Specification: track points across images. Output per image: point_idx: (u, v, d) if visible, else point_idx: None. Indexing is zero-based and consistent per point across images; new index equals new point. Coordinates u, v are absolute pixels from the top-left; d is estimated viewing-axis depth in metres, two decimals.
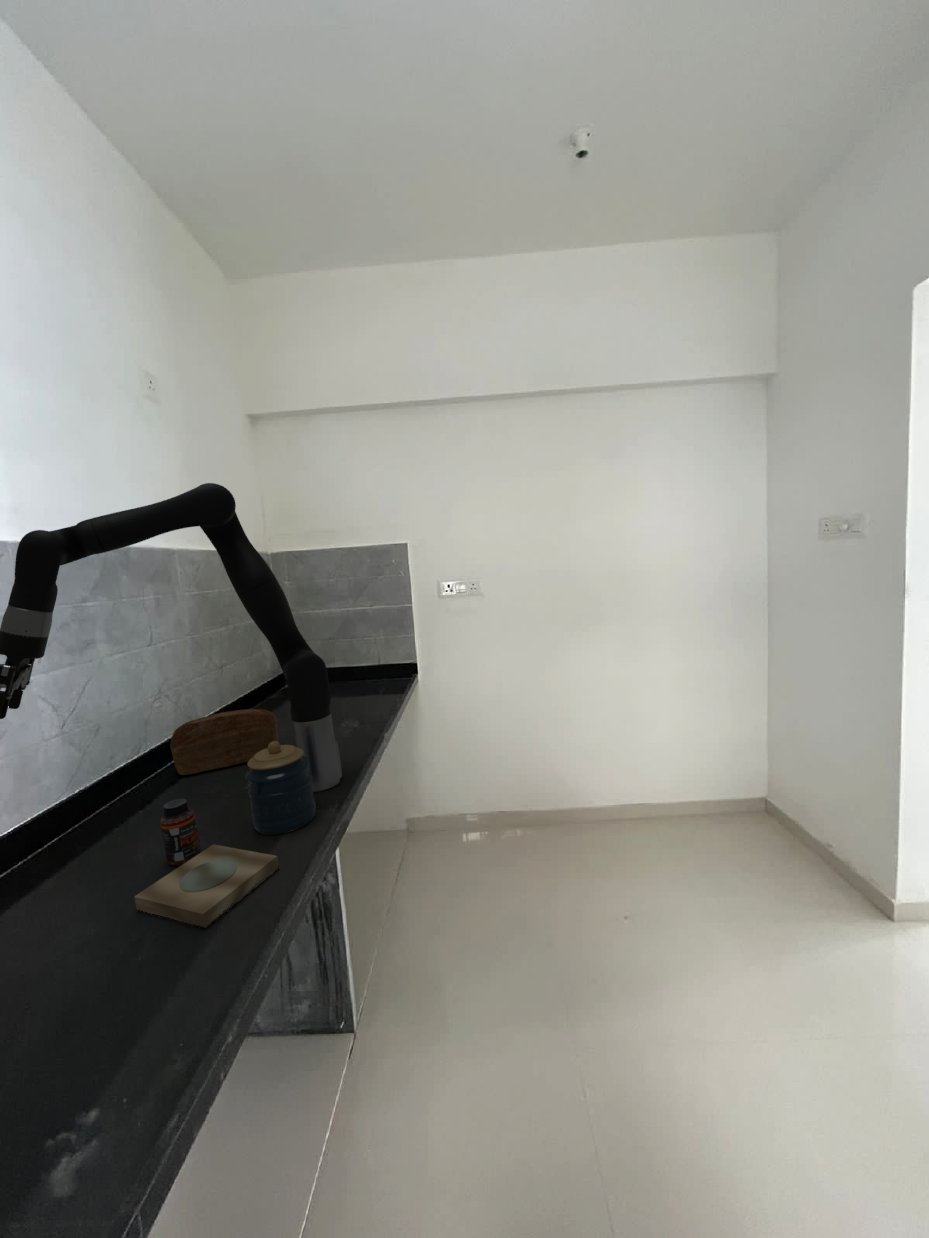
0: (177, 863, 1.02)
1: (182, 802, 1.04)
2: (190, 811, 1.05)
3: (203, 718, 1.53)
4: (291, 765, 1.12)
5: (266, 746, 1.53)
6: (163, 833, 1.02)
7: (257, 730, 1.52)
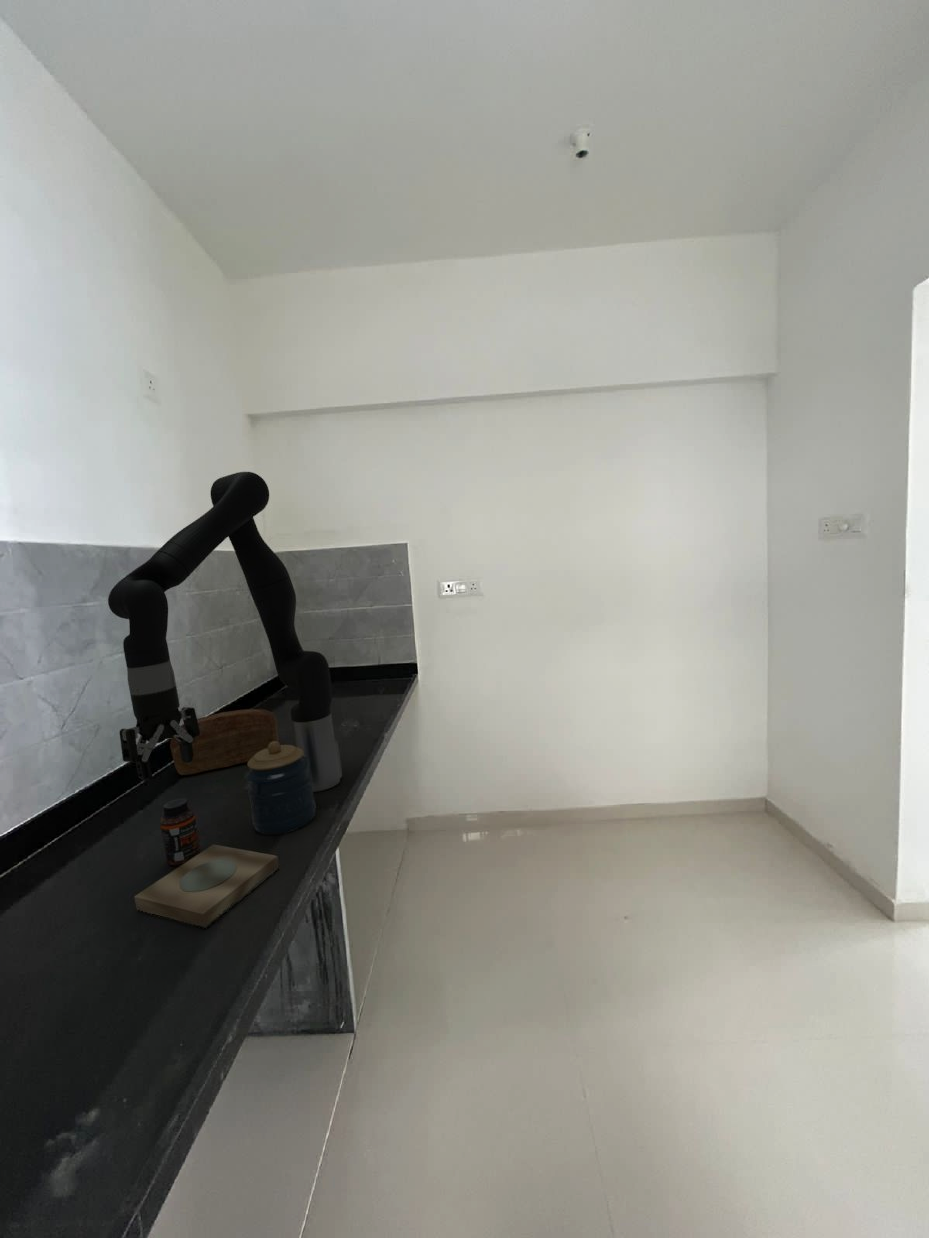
0: (177, 863, 1.02)
1: (182, 802, 1.04)
2: (190, 811, 1.05)
3: (203, 718, 1.52)
4: (291, 765, 1.12)
5: (266, 746, 1.53)
6: (163, 833, 1.02)
7: (257, 730, 1.52)
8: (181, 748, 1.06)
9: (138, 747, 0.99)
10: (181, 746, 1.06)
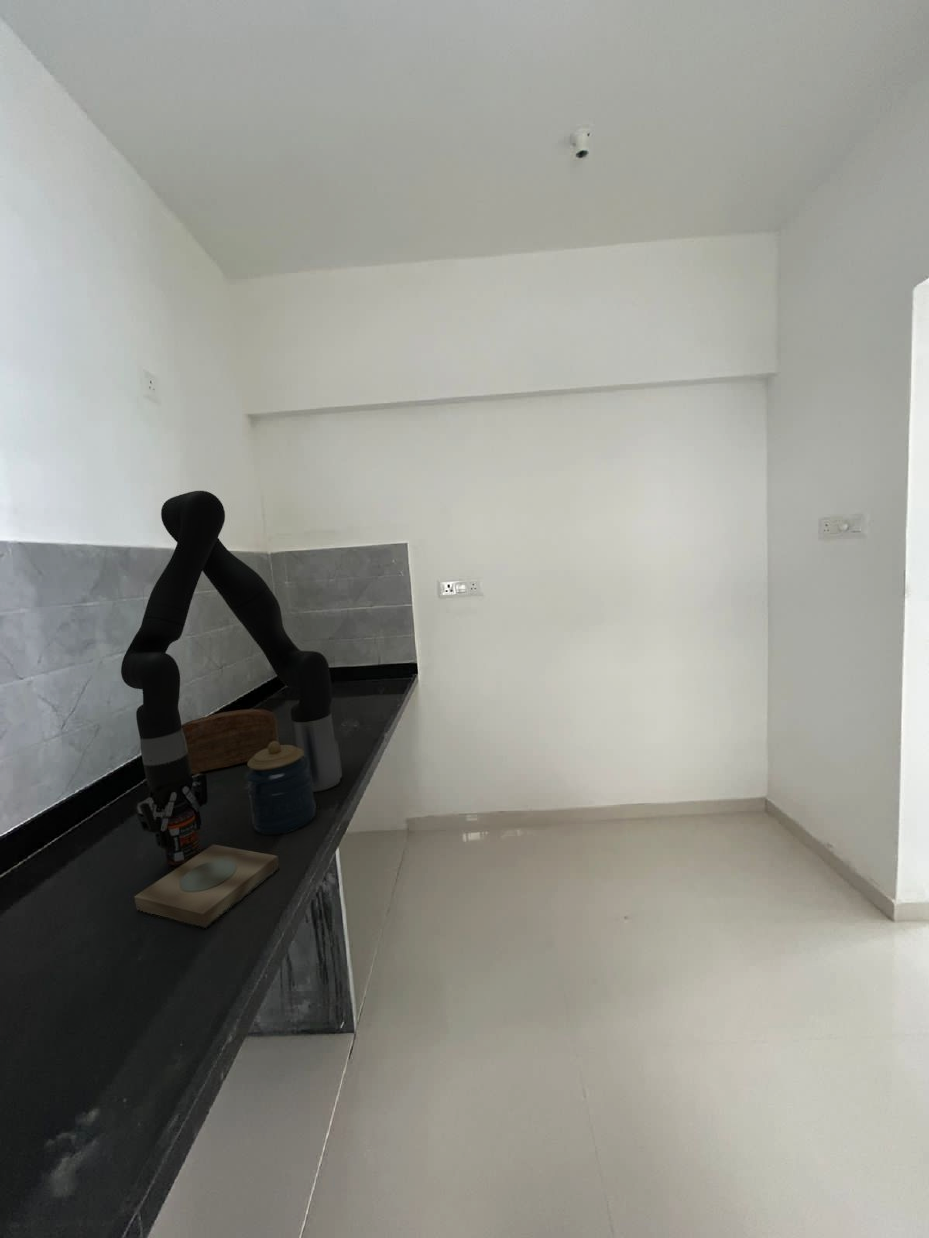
0: (177, 863, 1.02)
1: (182, 802, 1.03)
2: (190, 811, 1.05)
3: (203, 718, 1.52)
4: (291, 765, 1.12)
5: (266, 746, 1.53)
6: None
7: (257, 730, 1.52)
8: None
9: (155, 816, 1.01)
10: None
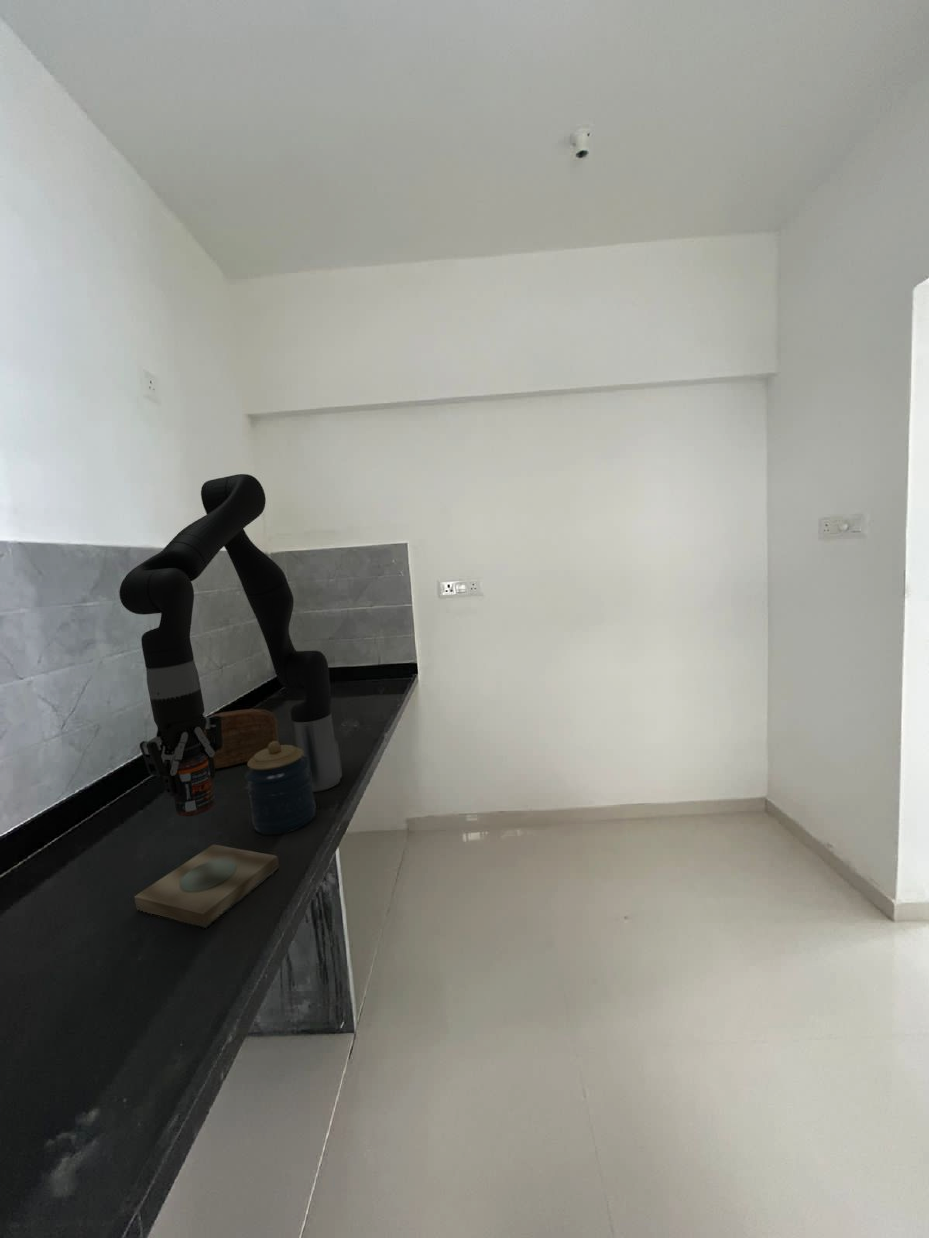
0: (188, 814, 0.89)
1: (194, 745, 0.90)
2: (203, 756, 0.92)
3: None
4: (291, 765, 1.12)
5: (266, 746, 1.54)
6: None
7: (257, 729, 1.52)
8: None
9: (163, 759, 0.88)
10: None
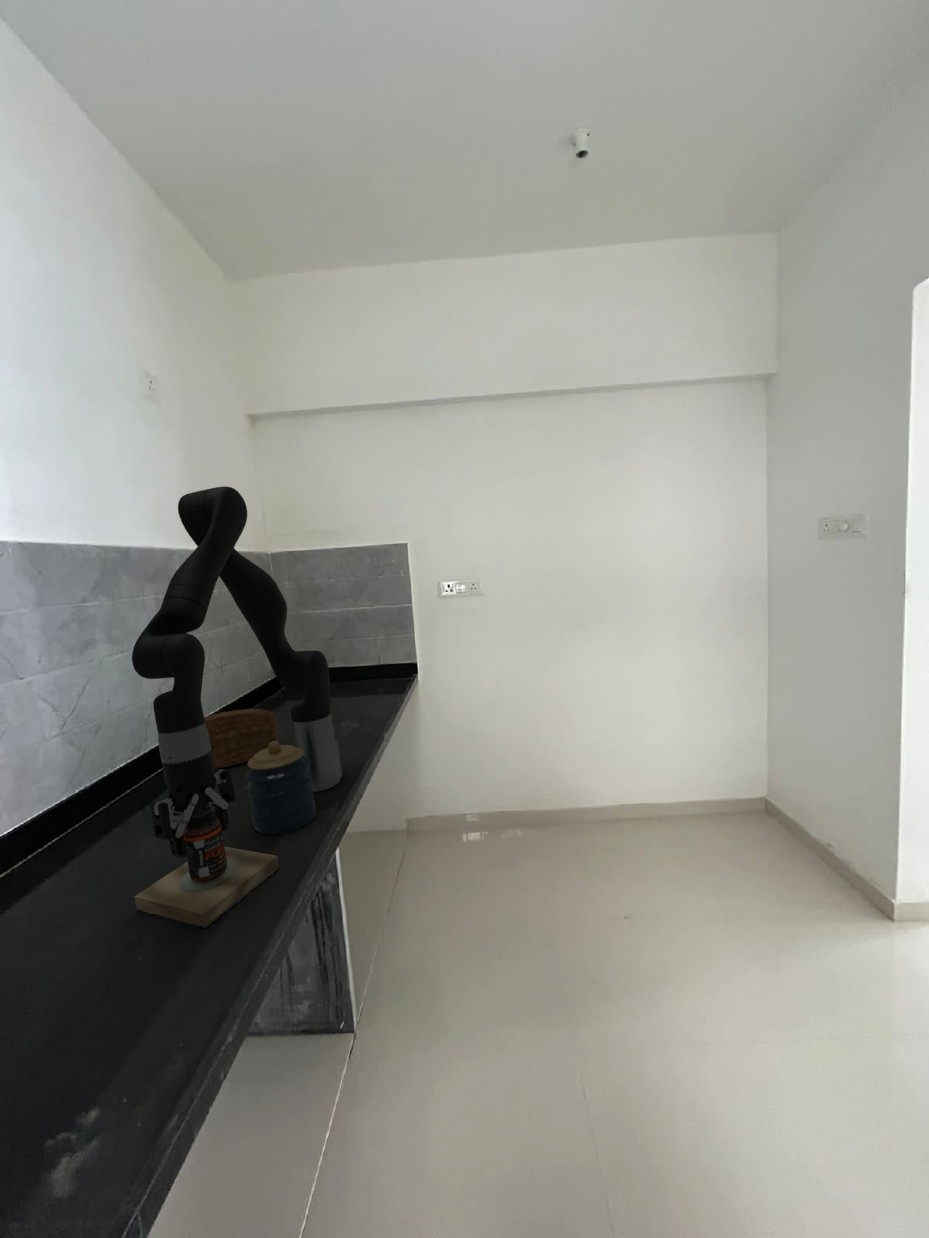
0: (202, 879, 0.91)
1: (207, 811, 0.92)
2: (216, 821, 0.93)
3: None
4: (291, 765, 1.12)
5: (266, 746, 1.54)
6: (186, 846, 0.91)
7: (257, 729, 1.52)
8: (216, 815, 0.96)
9: (171, 820, 0.89)
10: (216, 813, 0.96)
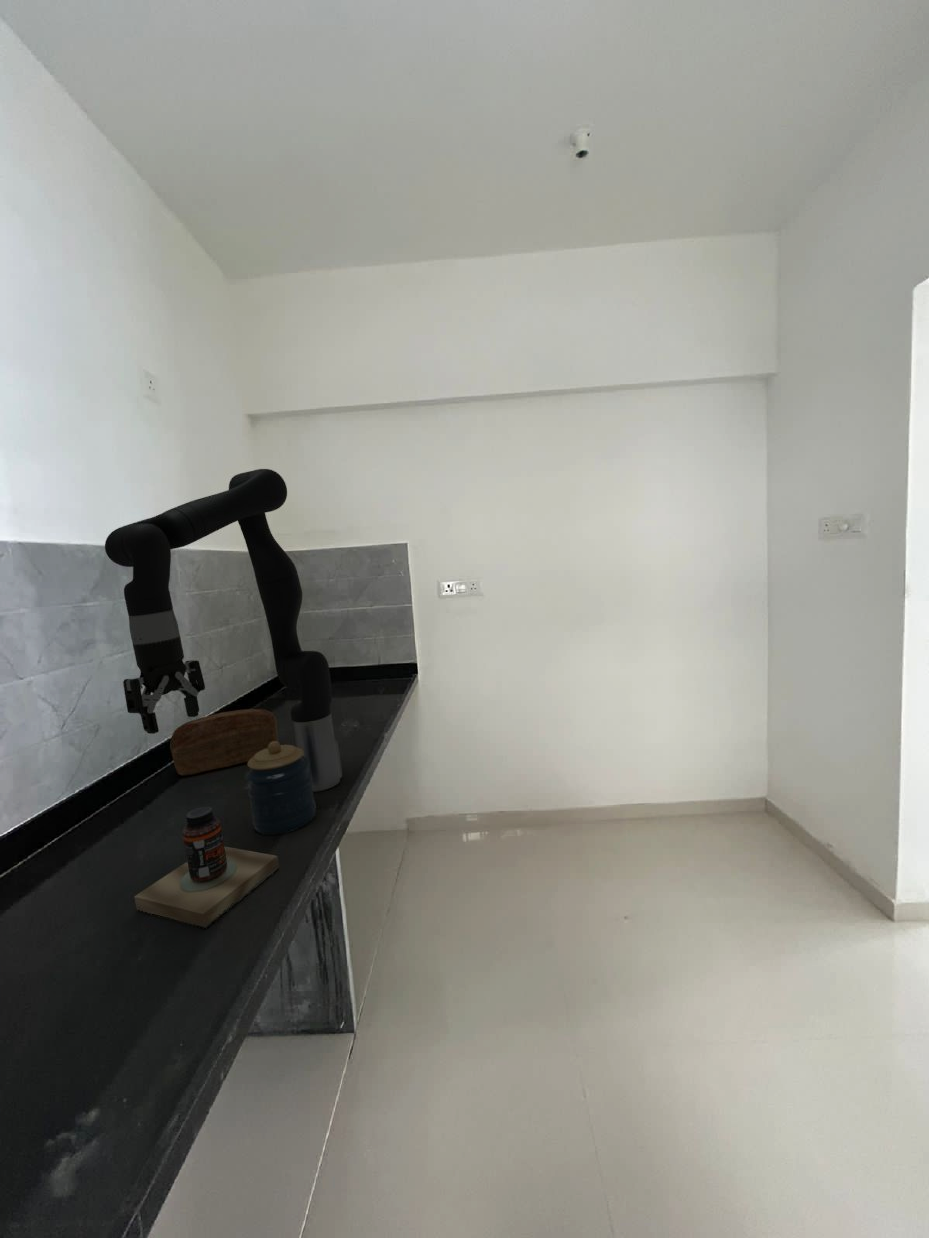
0: (202, 879, 0.91)
1: (207, 811, 0.92)
2: (216, 821, 0.93)
3: (202, 719, 1.52)
4: (291, 765, 1.12)
5: (266, 746, 1.54)
6: (186, 846, 0.91)
7: (257, 729, 1.52)
8: (186, 702, 1.03)
9: (143, 699, 0.95)
10: (186, 700, 1.03)
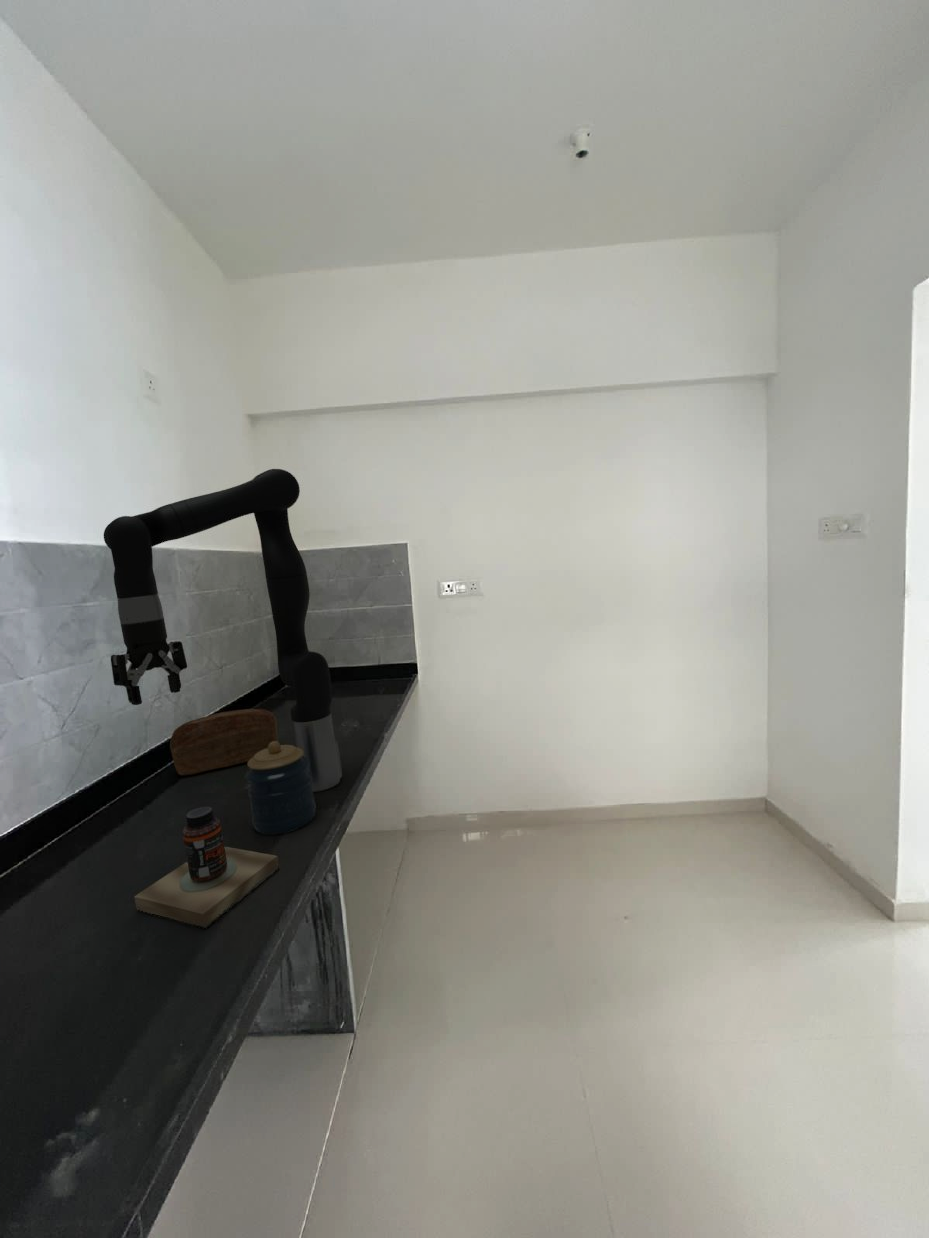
0: (202, 879, 0.91)
1: (207, 811, 0.92)
2: (216, 821, 0.93)
3: (202, 718, 1.52)
4: (291, 765, 1.12)
5: (266, 746, 1.54)
6: (186, 846, 0.91)
7: (257, 729, 1.52)
8: (169, 679, 1.13)
9: (128, 673, 1.06)
10: (169, 677, 1.13)
